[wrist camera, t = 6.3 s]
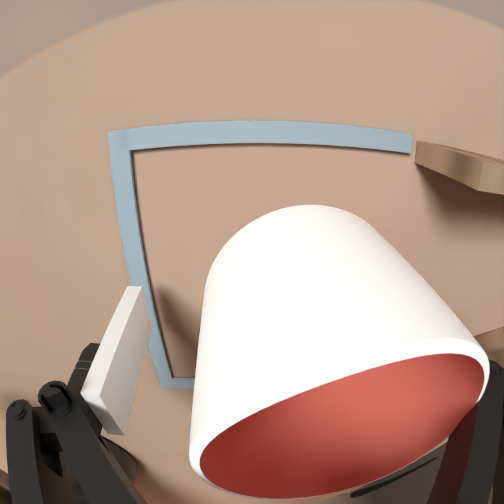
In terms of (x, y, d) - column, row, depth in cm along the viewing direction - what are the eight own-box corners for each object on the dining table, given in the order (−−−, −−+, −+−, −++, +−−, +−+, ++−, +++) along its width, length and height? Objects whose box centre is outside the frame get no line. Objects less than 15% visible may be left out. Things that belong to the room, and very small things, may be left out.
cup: (220, 179, 13) (199, 333, 4) (406, 217, 15) (534, 334, 6) (198, 342, 18) (186, 498, 9) (347, 353, 19) (395, 481, 10)
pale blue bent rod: (161, 385, 19) (161, 387, 19) (110, 131, 12) (107, 132, 12) (357, 374, 20) (358, 376, 20) (410, 133, 13) (412, 134, 12)
